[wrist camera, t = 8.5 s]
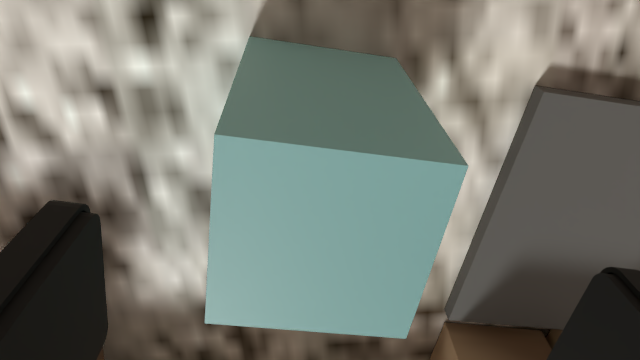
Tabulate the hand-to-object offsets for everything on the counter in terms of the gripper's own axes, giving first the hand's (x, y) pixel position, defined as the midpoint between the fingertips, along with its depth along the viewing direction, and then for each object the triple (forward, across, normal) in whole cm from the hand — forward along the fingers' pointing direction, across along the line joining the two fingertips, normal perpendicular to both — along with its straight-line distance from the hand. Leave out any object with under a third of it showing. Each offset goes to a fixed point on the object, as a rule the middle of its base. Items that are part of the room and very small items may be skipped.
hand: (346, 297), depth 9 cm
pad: (+8, -11, +2) cm, 14 cm away
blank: (+8, +1, -1) cm, 8 cm away
